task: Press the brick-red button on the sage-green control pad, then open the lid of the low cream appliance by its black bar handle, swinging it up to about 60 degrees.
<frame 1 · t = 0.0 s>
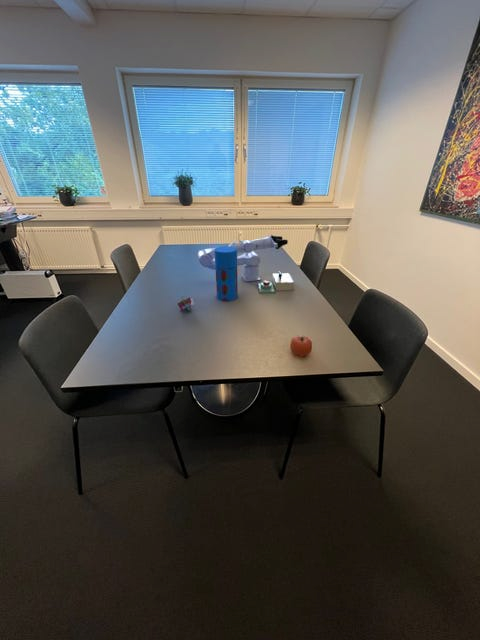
hand: (284, 240, 149), 22 cm above the table, tool horizontal, fingers open, 7 cm apart
red apple: (299, 353, 95), on the table
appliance: (282, 285, 147), on the table
button: (266, 283, 142), point 3 cm above the table, slide at 0.1 cm
thermos: (227, 296, 136), on the table
control pad: (266, 288, 143), on the table
lid: (282, 275, 144), point 6 cm above the table, hinge at 0.0°
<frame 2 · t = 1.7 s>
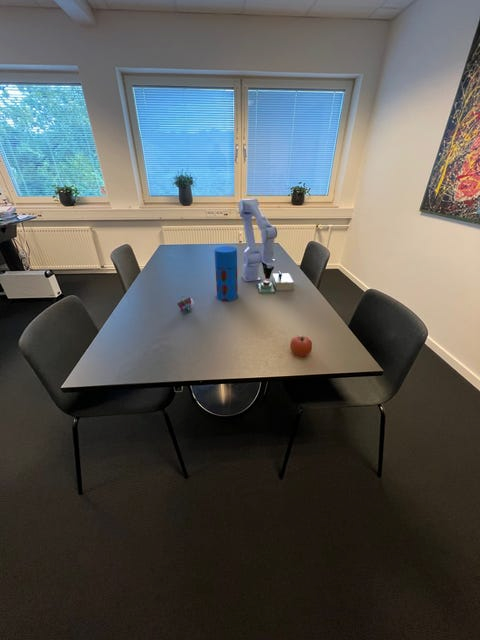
hand: (266, 276, 139), 7 cm above the table, tool pointing down, fingers open, 6 cm apart
nothing on the table moved.
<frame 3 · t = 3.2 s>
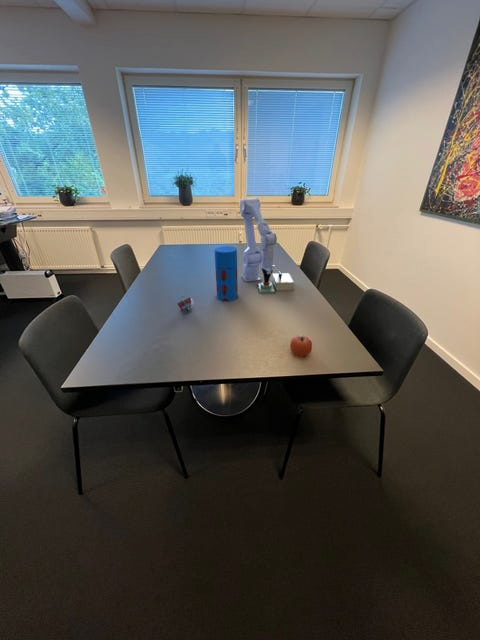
hand: (266, 281, 141), 4 cm above the table, tool pointing down, fingers closed, pressing on button
button: (266, 283, 142), point 3 cm above the table, slide at 0.1 cm, touching gripper
everything else where it was.
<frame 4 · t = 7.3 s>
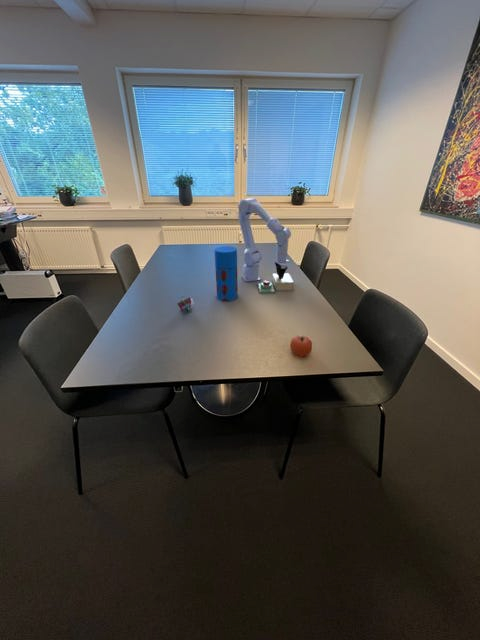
hand: (279, 276, 144), 6 cm above the table, tool pointing down, fingers closed on lid, 5 cm apart
button: (266, 283, 142), point 3 cm above the table, slide at 0.1 cm
lid: (282, 275, 144), point 6 cm above the table, hinge at 0.0°, touching gripper
everything else where it was.
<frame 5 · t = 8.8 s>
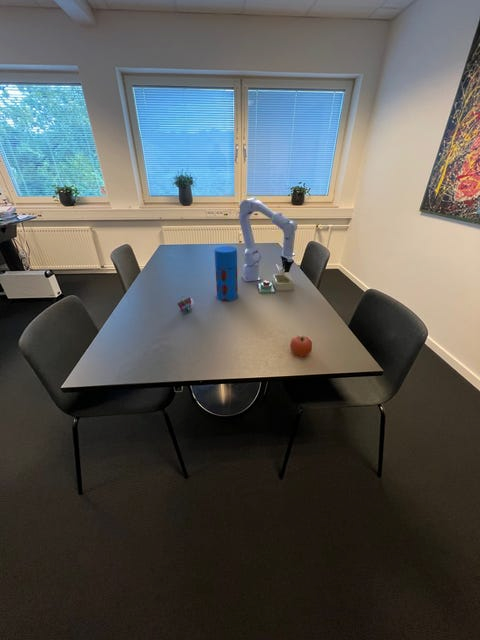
hand: (285, 270, 142), 9 cm above the table, tool pointing down, fingers closed on lid, 5 cm apart
lid: (286, 271, 143), point 9 cm above the table, hinge at 36.1°, touching gripper
everything else where it was.
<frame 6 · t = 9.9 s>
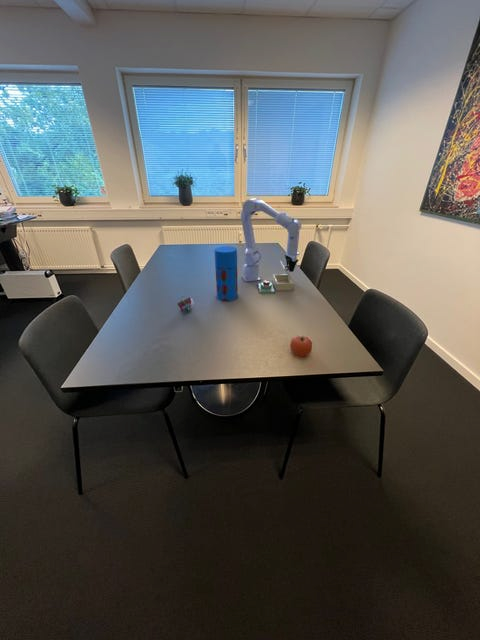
hand: (290, 269, 142), 9 cm above the table, tool pointing down, fingers closed on lid, 5 cm apart
lid: (289, 269, 142), point 9 cm above the table, hinge at 54.5°, touching gripper
everything else where it was.
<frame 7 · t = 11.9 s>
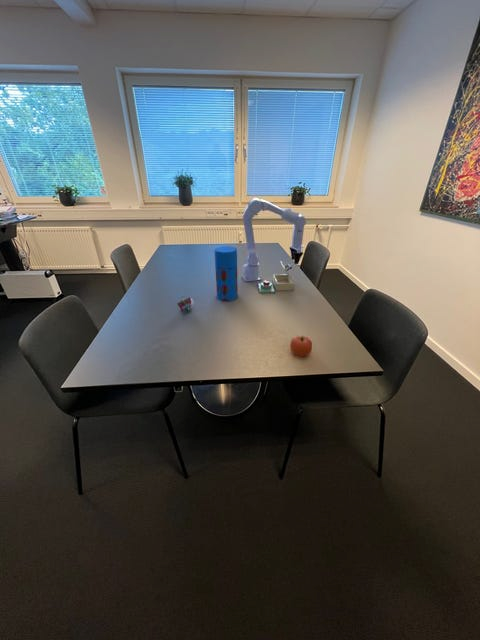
hand: (294, 261, 151), 10 cm above the table, tool pointing down, fingers open, 7 cm apart
lid: (289, 269, 142), point 9 cm above the table, hinge at 54.1°
everything else where it was.
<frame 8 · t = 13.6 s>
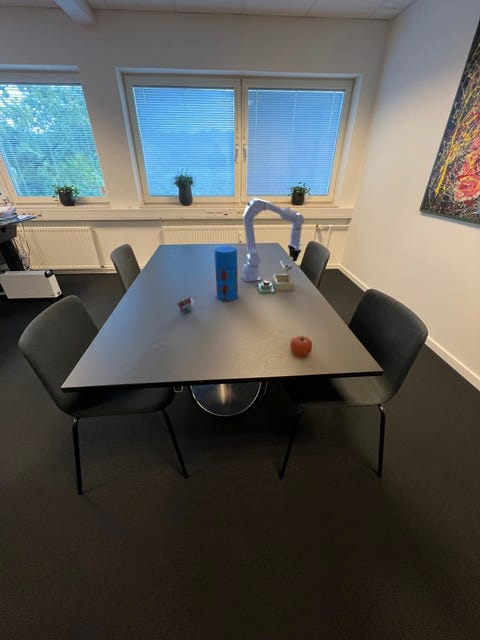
hand: (293, 259, 155), 10 cm above the table, tool pointing down, fingers open, 7 cm apart
nothing on the table moved.
at the end: button pushed in 1.0 cm at the most during the clip, back to where it started at the end; button slide at 0.1 cm; lid at +54° (first picture: +0°) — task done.
